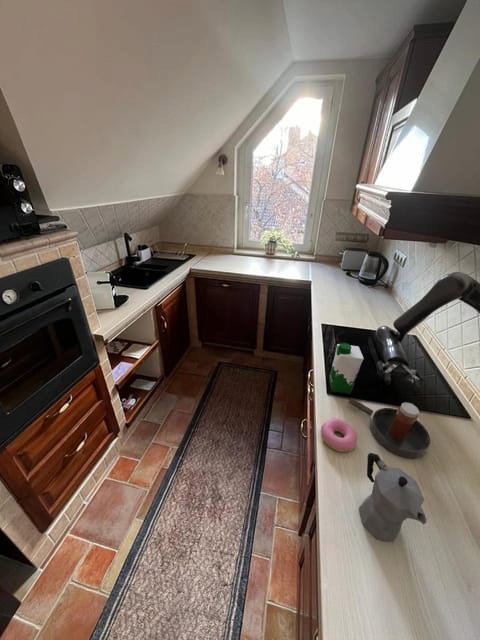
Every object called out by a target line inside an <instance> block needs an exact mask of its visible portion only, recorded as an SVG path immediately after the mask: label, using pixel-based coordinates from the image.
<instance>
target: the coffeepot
mask: <svg viewBox="0 0 480 640" xmlns="http://www.w3.org/2000/svg"><path fill="white" fill-rule="evenodd" d="M366 462H367V463H366V464H367V465H366V477H367V478H368V480H369V481H370V482H371V483H373V485H372V490H371V493H370V494H369V495H368V496H367V497H366V498H365V499H364V501H363V502H362V503H361V505H359V508H358V511H359V516H360V517H359V518H360V519H361V523H362V526H363V527H364V528H365V529H366V530H367V531H368V532H369V534H371V535H372V536H373V537H374V538H375V539H376V540H378V541H383V542H391V543H394V542H395V540H396V539H397V537H398V535H399V534H400V531H401V530H402V527H403V526H402V525H403V522H404V521H406V520H407V519H410V520H414V521H417V522H420V523H421V524H422V525H426V523H427V517H426V514H425V511H424V509H423V508H422V505H423V504H424V501H425V497H424V495H423V493H422V491H421V489H420V487H419V484H418V482H417V481H416V480H415V479H414V478H413V477H412V476H410V475H408V473H406V472H405V471H403V469H401V468H399V467H392V466H388V465H387V463H385V461H384V460H383V459H382V458H381V457H380V455H379V454H377V453H374V452H368V453H367V461H366ZM374 465H376V467H377V468H378V470H379V471H378V472H377V473H376V474H375V476H374V477H373V473H374Z"/></svg>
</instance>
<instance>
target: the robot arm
mask: <svg viewBox="0 0 480 640" xmlns="http://www.w3.org/2000/svg"><path fill="white" fill-rule="evenodd" d="M456 300H458V301H460V302H462V303H464V304H466V305H468V306H470V307H471V308H472V309H474V310H475V311H476V312H477V313H478V314H479V315H480V282H479V281H478V280H476V279H475V278H474V277H473V276H471V275H469V274H468V273H465V272H461V271H454V272H451V273H448V274H445V275H443V276H441V277H440V278H439V279H438V280H437V281H436V283H434V285H433V286H432V287H431V288H430V290H429V291H427V293H426V294H425V295H424V296H423V297H421V299H419V301H417V302H416V303H415V304H413V305H412V306H411V307H409V309H407V310H406V311H404V312H403V313H401V315H399V316H398V317H397V318H396V319H395V320H393V323H392V326H393V328H394V329H393V328H391V327H390V326H387V325H381V326H379V327H378V328H377V329H376V331H375V336H374V337H375V339H376V341H377V343H378V344H379V346H380V347H381V348H382V352H383V353H382V355H383V357H382V358H383V361H384V363H383V361H382V360H378V362H377V364H376V373H377V376H380V377H381V376H382V378H383V379H384V382H385V383H386V385H389V386H390V384H391V383H392V378H391V376H392V375H393V376H394V377H400V378H403V379H405V380H406V381H408V382H410V383H412V387H413V390H414V392H418V391H420V390H421V387H422V386H421V385H423V383H424V381H425V377H424V375H423V372H422V371H421V369H420V368H416V369H412V367H410V365H409V361H408V357H407V355H406V353H405V351H404V348H403V345H402V344H401V343H402V342H403V341H404V339H405V338H406V336H408V334H409V333H410V332H412V330H414V329H415V328H417V327H419V326H420V324H422V323H423V322H424V321H425V320H427V318H428V317H430V316H431V315H432V314H434V312H436V311H437V310H439V309H440V308H442V307H444V306H446V305H448V304H450V303H452V302H454V301H456ZM384 369H385V370H384Z"/></svg>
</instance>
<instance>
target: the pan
mask: <svg viewBox="0 0 480 640" xmlns="http://www.w3.org/2000/svg"><path fill="white" fill-rule="evenodd" d="M397 410H398V408H392V407H382V408H379V409H377V410H376V411H375V412H373V414H372V416H371V419H370V423H369V429H370V433H371V435H372V437H373V438H374V440H375V441H376V442H377V444H379V445H380V446H381V448H383V449H384V450H386V451H387V452H389V453H390V454H392V455H394V456H397V457H399V458H402V459H406V460H407V459H408V460H416V459H419V458H421V457H423V456H424V455H425V453H426V452H427V450H428V449H429V448H430V445H431V437H430V434H429V432H428V430H427V429H426V427H425V426H424V425H423V424H422V423H421V421H419V420H418V418H417V419H416V421H415V423H414V425H413V427H412V428H411V430H410V432H409V434H408V436H407V437H406V439H405V440H403V441H399V440H396V439H394V438H393V437H392V436H391V435H390V434H389V432H388V429H389V427H390V425H391V423H392V420H393V418H394V416H395V414H396V412H397Z"/></svg>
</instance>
